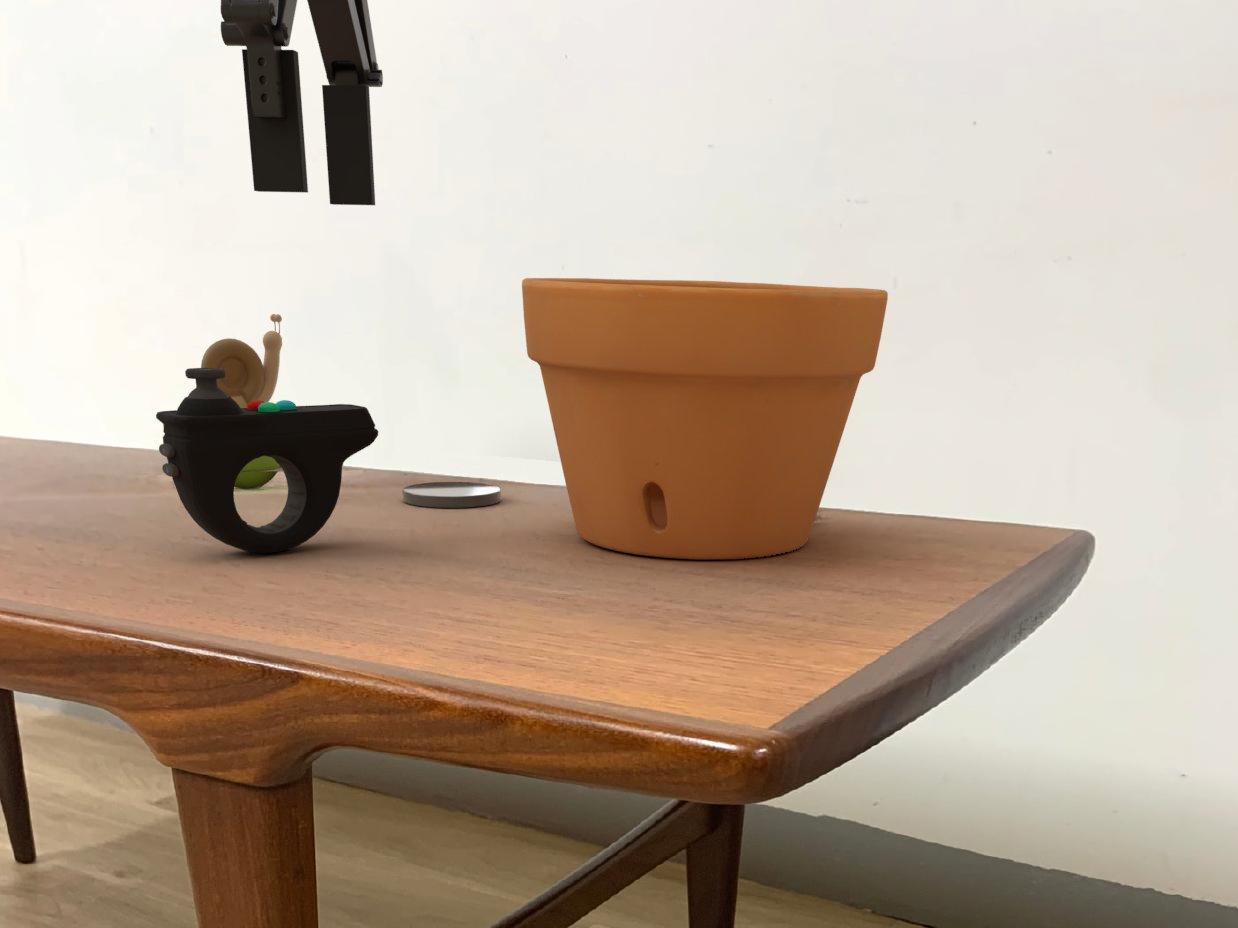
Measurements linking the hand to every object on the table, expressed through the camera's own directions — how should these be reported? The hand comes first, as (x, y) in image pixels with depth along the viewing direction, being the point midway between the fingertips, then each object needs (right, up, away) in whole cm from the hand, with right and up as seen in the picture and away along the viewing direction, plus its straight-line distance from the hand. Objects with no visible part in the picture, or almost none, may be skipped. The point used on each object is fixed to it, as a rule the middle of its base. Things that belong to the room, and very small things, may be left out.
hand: (319, 199), depth 76 cm
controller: (-2, -21, 0) cm, 21 cm away
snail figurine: (-10, -11, +21) cm, 26 cm away
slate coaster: (+5, -13, +18) cm, 22 cm away
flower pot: (+22, -19, +6) cm, 29 cm away
